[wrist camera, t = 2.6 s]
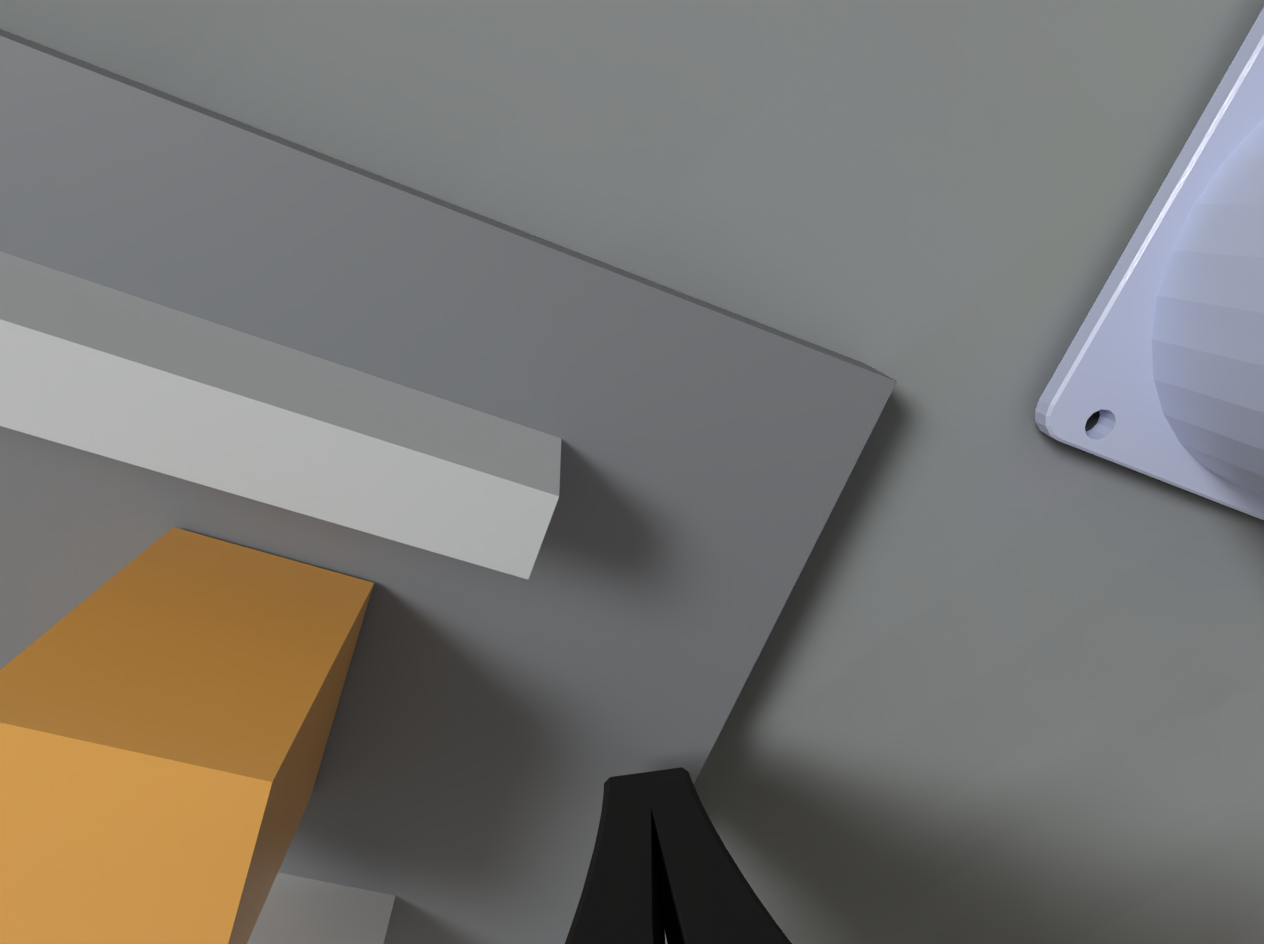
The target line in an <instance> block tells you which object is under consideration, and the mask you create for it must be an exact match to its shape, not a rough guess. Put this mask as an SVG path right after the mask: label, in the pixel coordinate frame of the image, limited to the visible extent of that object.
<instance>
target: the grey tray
mask: <svg viewBox="0 0 1264 944" xmlns="http://www.w3.org/2000/svg"><path fill="white" fill-rule="evenodd" d="M896 382H897V381H895V380H893V379H892V378H890V377H888V376H886V375H885V374H883V373H881V372H879V371H877V370H876V369H874V368H872V367H870V366H868V365H866V364H864V363H861V362H859V361H856V360H853V359H851V358H848V357H846V356H843V355H841V354H838V353H835V352H833V351H830V350H828V349H825V348H822V347H820V346H817V345H815V344H812V343H810V342H807V341H804V340H802V339H799V338H797V337H794V336H791V335H789V334H786V333H784V332H781V331H779V330H776V329H773V328H771V327H768V326H766V325H763V324H760V323H758V322H755V321H753V320H750V319H748V318H745V317H742V316H740V315H737V314H735V313H732V312H729V311H727V310H724V309H722V308H719V307H717V306H714V305H711V304H709V303H706V302H704V301H701V300H698V299H696V298H693V297H691V296H688V295H686V294H683V293H680V292H678V291H675V290H673V289H670V288H667V287H665V286H662V285H660V284H657V283H655V282H652V281H649V280H647V279H644V278H642V277H639V276H636V275H634V274H631V273H629V272H626V271H624V270H621V269H618V268H616V267H613V266H611V265H608V264H605V263H603V262H600V261H598V260H595V259H593V258H590V257H587V256H585V255H582V254H580V253H577V252H574V251H572V250H569V249H567V248H564V247H562V246H559V245H556V244H554V243H551V242H549V241H546V240H543V239H541V238H538V237H536V236H533V235H531V234H528V233H525V232H523V231H520V230H518V229H515V228H513V227H510V226H507V225H505V224H502V223H500V222H497V221H494V220H492V219H489V218H487V217H484V216H482V215H479V214H476V213H474V212H471V211H469V210H466V209H463V208H461V207H458V206H456V205H453V204H451V203H448V202H445V201H443V200H440V199H438V198H435V197H432V196H430V195H427V194H425V193H422V192H420V191H417V190H414V189H412V188H409V187H407V186H404V185H401V184H399V183H396V182H394V181H391V180H389V179H386V178H383V177H381V176H378V175H376V174H373V173H370V172H368V171H365V170H363V169H360V168H358V167H355V166H352V165H350V164H347V163H345V162H342V161H339V160H337V159H334V158H332V157H329V156H327V155H324V154H321V153H319V152H316V151H314V150H311V149H308V148H306V147H303V146H301V145H298V144H296V143H293V142H290V141H288V140H285V139H283V138H280V137H277V136H275V135H272V134H270V133H267V132H265V131H262V130H259V129H257V128H254V127H252V126H249V125H246V124H244V123H241V122H239V121H236V120H234V119H231V118H228V117H226V116H223V115H221V114H218V113H215V112H213V111H210V110H208V109H205V108H203V107H200V106H197V105H195V104H192V103H190V102H187V101H184V100H182V99H179V98H177V97H174V96H172V95H169V94H166V93H164V92H161V91H159V90H156V89H153V88H151V87H148V86H146V85H143V84H141V83H138V82H135V81H133V80H130V79H128V78H125V77H123V76H120V75H117V74H115V73H112V72H110V71H107V70H104V69H102V68H99V67H97V66H94V65H92V64H89V63H86V62H84V61H81V60H79V59H76V58H73V57H71V56H68V55H66V54H63V53H61V52H58V51H55V50H53V49H50V48H48V47H45V46H42V45H40V44H37V43H35V42H32V41H30V40H27V39H24V38H22V37H19V36H17V35H14V34H11V33H9V32H6V31H4V30H1V29H0V670H1V669H2V668H3V667H4V666H5V665H7V664H8V663H9V662H10V661H12V660H13V659H14V658H15V657H16V656H18V655H19V654H20V653H21V652H22V651H24V650H25V649H26V648H27V647H28V646H30V645H31V644H32V643H33V642H35V641H36V640H37V639H38V638H39V637H41V636H42V635H43V634H44V633H45V632H47V631H48V630H49V629H50V628H51V627H53V626H54V625H55V624H56V623H58V622H59V621H60V620H61V619H62V618H64V617H65V616H66V615H67V614H68V613H70V612H71V611H72V610H73V609H75V608H76V607H77V606H78V605H79V604H81V603H82V602H83V601H84V600H85V599H87V598H88V597H89V596H90V595H91V594H93V593H94V592H95V591H96V590H98V589H99V588H100V587H101V586H102V585H104V584H105V583H106V582H107V581H108V580H110V579H111V578H112V577H113V576H114V575H116V574H117V573H118V572H119V571H121V570H122V569H123V568H124V567H125V566H127V565H128V564H129V563H130V562H131V561H133V560H134V559H135V558H136V557H138V556H139V555H140V554H141V553H142V552H144V551H145V550H146V549H147V548H148V547H150V546H151V545H152V544H153V543H154V542H156V541H157V540H158V539H159V538H161V537H162V536H163V535H164V534H165V533H167V532H168V531H169V530H170V529H171V528H173V527H175V528H179V529H182V530H186V531H189V532H193V533H197V534H200V535H204V536H207V537H211V538H215V539H218V540H222V541H225V542H229V543H232V544H236V545H240V546H243V547H247V548H250V549H254V550H258V551H261V552H265V553H268V554H272V555H276V556H279V557H283V558H286V559H290V560H294V561H297V562H301V563H304V564H308V565H312V566H315V567H319V568H322V569H326V570H329V571H333V572H337V573H340V574H344V575H347V576H351V577H355V578H358V579H362V580H365V581H369V582H373V583H374V585H373V589H372V592H371V595H370V599H369V602H368V605H367V609H366V612H365V615H364V619H363V622H362V626H361V629H360V632H359V636H358V639H357V642H356V646H355V649H354V653H353V656H352V659H351V663H350V666H349V669H348V673H347V676H346V680H345V683H344V686H343V690H342V693H341V696H340V700H339V703H338V707H337V710H336V713H335V717H334V720H333V723H332V727H331V730H330V734H329V737H328V740H327V744H326V747H325V750H324V754H323V757H322V761H321V764H320V767H319V771H318V774H317V777H316V781H315V784H314V787H313V791H312V794H311V798H310V800H309V802H308V805H307V807H306V809H305V811H304V814H303V816H302V818H301V821H300V823H299V825H298V828H297V830H296V832H295V834H294V837H293V839H292V841H291V844H290V846H289V848H288V851H287V853H286V855H285V858H284V860H283V862H282V864H281V867H280V869H279V871H278V874H277V876H276V878H275V881H274V883H273V885H272V887H271V890H270V892H269V894H268V897H267V899H266V901H265V904H264V906H263V908H262V911H261V913H260V915H259V917H258V920H257V922H256V924H255V927H254V929H253V931H252V934H251V936H250V938H249V940H248V943H247V944H565V942H566V939H567V936H568V933H569V930H570V927H571V924H572V921H573V918H574V915H575V912H576V909H577V906H578V903H579V900H580V897H581V894H582V891H583V887H584V883H585V880H586V876H587V872H588V869H589V865H590V861H591V858H592V854H593V850H594V846H595V841H596V837H597V832H598V828H599V822H600V817H601V811H602V803H603V793H604V783H605V782H606V781H607V780H608V779H609V777H614V776H621V775H628V774H636V773H643V772H650V771H658V770H665V769H672V768H680V767H682V768H684V769H685V770H687V771H688V772H689V774H690V777H691V780H692V783H693V785H694V784H695V782H696V780H697V778H698V776H699V774H700V772H701V770H702V768H703V766H704V764H705V762H706V760H707V758H708V756H709V754H710V752H711V750H712V748H713V746H714V744H715V742H716V740H717V738H718V736H719V734H720V732H721V730H722V728H723V726H724V724H725V722H726V720H727V718H728V716H729V714H730V712H731V710H732V708H733V706H734V704H735V702H736V700H737V698H738V696H739V694H740V692H741V690H742V688H743V686H744V684H745V682H746V680H747V678H748V676H749V674H750V672H751V670H752V668H753V666H754V664H755V662H756V660H757V658H758V656H759V655H760V653H761V651H762V649H763V647H764V645H765V643H766V641H767V639H768V637H769V635H770V633H771V631H772V629H773V627H774V625H775V623H776V621H777V619H778V617H779V615H780V613H781V611H782V609H783V607H784V605H785V603H786V601H787V599H788V597H789V595H790V593H791V591H792V589H793V587H794V585H795V583H796V581H797V579H798V577H799V575H800V573H801V571H802V569H803V567H804V565H805V563H806V561H807V559H808V557H809V555H810V553H811V551H812V549H813V547H814V545H815V543H816V541H817V539H818V537H819V535H820V533H821V531H822V529H823V527H824V525H825V523H826V521H827V519H828V517H829V516H830V514H831V512H832V510H833V508H834V506H835V504H836V502H837V500H838V498H839V496H840V494H841V492H842V490H843V488H844V486H845V484H846V482H847V480H848V478H849V476H850V474H851V472H852V470H853V468H854V466H855V464H856V462H857V460H858V458H859V456H860V454H861V452H862V450H863V448H864V446H865V444H866V442H867V440H868V438H869V436H870V434H871V432H872V430H873V428H874V426H875V424H876V422H877V420H878V418H879V416H880V414H881V412H882V410H883V408H884V406H885V404H886V402H887V400H888V398H889V396H890V394H891V392H892V390H893V388H894V386H895V384H896Z"/></svg>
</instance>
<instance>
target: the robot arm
mask: <svg viewBox="0 0 1264 944" xmlns="http://www.w3.org/2000/svg"><path fill="white" fill-rule="evenodd" d="M1097 411H1099V414H1100V416H1099V419H1098V422H1097V424H1096V425H1095V426H1094V427H1093V428H1092V429H1091V430H1089V431H1085V425H1086V422H1087V419H1088V418H1089V417H1090V416H1091V415H1092V414H1093V413H1094V412H1097ZM1035 422H1036V424H1037V426H1038V428H1039V430H1040V431H1042V432H1043V433H1045V434H1046V435H1047V436H1049V437H1051V438H1053V439H1055V440H1057V441H1060V442H1062V443H1065V444H1068V445H1070V446H1073V447H1075V448H1078V449H1081V450H1083V451H1086V452H1088V453H1091V454H1093V455H1096V456H1099V457H1101V458H1104V459H1106V460H1109V461H1112V462H1114V463H1117V464H1119V465H1122V466H1125V467H1127V468H1130V469H1132V470H1135V471H1137V472H1140V473H1143V474H1145V475H1148V476H1150V477H1153V478H1156V479H1158V480H1161V481H1163V482H1166V483H1168V484H1171V485H1174V486H1176V487H1179V488H1181V489H1184V490H1187V491H1189V492H1192V493H1194V494H1197V495H1200V496H1202V497H1205V498H1207V499H1210V500H1212V501H1215V502H1218V503H1220V504H1223V505H1225V506H1228V507H1231V508H1233V509H1236V510H1238V511H1241V512H1244V513H1246V514H1249V515H1251V516H1254V517H1256V518H1259V519H1262V520H1264V7H1263V9H1262V11H1261V12H1260V14H1259V16H1258V18H1257V19H1256V21H1255V23H1254V25H1253V26H1252V28H1251V30H1250V32H1249V33H1248V35H1247V37H1246V39H1245V40H1244V42H1243V44H1242V46H1241V47H1240V49H1239V51H1238V53H1237V54H1236V56H1235V58H1234V60H1233V61H1232V63H1231V65H1230V67H1229V68H1228V70H1227V72H1226V74H1225V75H1224V77H1223V79H1222V81H1221V82H1220V84H1219V86H1218V88H1217V89H1216V91H1215V93H1214V95H1213V96H1212V98H1211V100H1210V102H1209V103H1208V105H1207V107H1206V109H1205V110H1204V112H1203V114H1202V116H1201V117H1200V119H1199V121H1198V123H1197V124H1196V126H1195V128H1194V130H1193V131H1192V133H1191V135H1190V137H1189V138H1188V140H1187V142H1186V144H1185V145H1184V147H1183V149H1182V151H1181V152H1180V154H1179V156H1178V158H1177V159H1176V161H1175V163H1174V165H1173V166H1172V168H1171V170H1170V172H1169V173H1168V175H1167V177H1166V179H1165V180H1164V182H1163V184H1162V186H1161V187H1160V189H1159V191H1158V193H1157V194H1156V196H1155V198H1154V200H1153V201H1152V203H1151V205H1150V207H1149V208H1148V210H1147V212H1146V214H1145V215H1144V217H1143V219H1142V221H1141V222H1140V224H1139V226H1138V228H1137V229H1136V231H1135V233H1134V235H1133V236H1132V238H1131V240H1130V242H1129V243H1128V245H1127V247H1126V249H1125V250H1124V252H1123V254H1122V256H1121V257H1120V259H1119V261H1118V263H1117V264H1116V266H1115V268H1114V270H1113V271H1112V273H1111V275H1110V277H1109V278H1108V280H1107V282H1106V284H1105V285H1104V287H1103V289H1102V291H1101V292H1100V294H1099V296H1098V298H1097V299H1096V301H1095V303H1094V305H1093V306H1092V308H1091V310H1090V312H1089V313H1088V315H1087V317H1086V319H1085V320H1084V322H1083V324H1082V326H1081V327H1080V329H1079V331H1078V332H1077V334H1076V336H1075V338H1074V339H1073V341H1072V343H1071V345H1070V346H1069V348H1068V350H1067V352H1066V353H1065V355H1064V357H1063V359H1062V360H1061V362H1060V364H1059V366H1058V367H1057V369H1056V371H1055V373H1054V374H1053V376H1052V378H1051V380H1050V381H1049V383H1048V385H1047V387H1046V388H1045V390H1044V392H1043V394H1042V395H1041V397H1040V399H1039V401H1038V404H1037V407H1036V409H1035ZM664 929H665V930H664ZM665 933H666V938H667V943H668V944H792V943H791V942H790V941H789V940H788V938H787V937H786V936H785V934H784V933H783V932H782V930H781V929H780V928H779V926H778V925H777V924H776V922H775V921H774V920H773V918H772V917H771V915H770V914H769V913H768V911H767V910H766V908H765V907H764V906H763V904H762V903H761V901H760V900H759V898H758V897H757V896H756V894H755V893H754V891H753V890H752V888H751V887H750V885H749V884H748V882H747V881H746V879H745V878H744V876H743V875H742V873H741V871H740V870H739V868H738V867H737V865H736V863H735V862H734V860H733V858H732V857H731V855H730V854H729V852H728V850H727V849H726V847H725V846H724V844H723V842H722V840H721V839H720V837H719V835H718V833H717V832H716V830H715V828H714V826H713V824H712V822H711V821H710V819H709V817H708V815H707V813H706V811H705V809H704V807H703V805H702V803H701V801H700V799H699V797H698V794H697V792H696V790H695V787H694V785H693V783H692V780H691V777H690V774H689V772H688V771H687V770H685V769H684V768H682V767H680V768H672V769H665V770H658V771H650V772H643V773H636V774H628V775H621V776H614V777H609V779H608V780H607V781H606V782H605V783H604V793H603V803H602V811H601V817H600V822H599V828H598V832H597V837H596V841H595V846H594V850H593V854H592V858H591V861H590V865H589V869H588V872H587V876H586V880H585V883H584V887H583V891H582V894H581V897H580V900H579V903H578V906H577V909H576V912H575V915H574V918H573V921H572V924H571V927H570V930H569V933H568V936H567V939H566V942H565V944H665Z"/></svg>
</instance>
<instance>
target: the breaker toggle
mask: <svg viewBox="0 0 1264 944" xmlns="http://www.w3.org/2000/svg"><path fill="white" fill-rule="evenodd" d="M373 585H374V583H373V582H369V581H365V580H362V579H358V578H355V577H351V576H347V575H344V574H340V573H337V572H333V571H329V570H326V569H322V568H319V567H315V566H312V565H308V564H304V563H301V562H297V561H294V560H290V559H286V558H283V557H279V556H276V555H272V554H268V553H265V552H261V551H258V550H254V549H250V548H247V547H243V546H240V545H236V544H232V543H229V542H225V541H222V540H218V539H215V538H211V537H207V536H204V535H200V534H197V533H193V532H189V531H186V530H182V529H179V528H175V527H173V528H171V529H170V530H169V531H168V532H167V533H165V534H164V535H163V536H162V537H161V538H159V539H158V540H157V541H156V542H154V543H153V544H152V545H151V546H150V547H148V548H147V549H146V550H145V551H144V552H142V553H141V554H140V555H139V556H138V557H136V558H135V559H134V560H133V561H131V562H130V563H129V564H128V565H127V566H125V567H124V568H123V569H122V570H121V571H119V572H118V573H117V574H116V575H114V576H113V577H112V578H111V579H110V580H108V581H107V582H106V583H105V584H104V585H102V586H101V587H100V588H99V589H98V590H96V591H95V592H94V593H93V594H91V595H90V596H89V597H88V598H87V599H85V600H84V601H83V602H82V603H81V604H79V605H78V606H77V607H76V608H75V609H73V610H72V611H71V612H70V613H68V614H67V615H66V616H65V617H64V618H62V619H61V620H60V621H59V622H58V623H56V624H55V625H54V626H53V627H51V628H50V629H49V630H48V631H47V632H45V633H44V634H43V635H42V636H41V637H39V638H38V639H37V640H36V641H35V642H33V643H32V644H31V645H30V646H28V647H27V648H26V649H25V650H24V651H22V652H21V653H20V654H19V655H18V656H16V657H15V658H14V659H13V660H12V661H10V662H9V663H8V664H7V665H5V666H4V667H3V668H2V669H1V670H0V944H247V943H248V940H249V938H250V936H251V934H252V931H253V929H254V927H255V924H256V922H257V920H258V917H259V915H260V913H261V911H262V908H263V906H264V904H265V901H266V899H267V897H268V894H269V892H270V890H271V887H272V885H273V883H274V881H275V878H276V876H277V874H278V871H279V869H280V867H281V864H282V862H283V860H284V858H285V855H286V853H287V851H288V848H289V846H290V844H291V841H292V839H293V837H294V834H295V832H296V830H297V828H298V825H299V823H300V821H301V818H302V816H303V814H304V811H305V809H306V807H307V805H308V802H309V800H310V798H311V794H312V791H313V787H314V784H315V781H316V777H317V774H318V771H319V767H320V764H321V761H322V757H323V754H324V750H325V747H326V744H327V740H328V737H329V734H330V730H331V727H332V723H333V720H334V717H335V713H336V710H337V707H338V703H339V700H340V696H341V693H342V690H343V686H344V683H345V680H346V676H347V673H348V669H349V666H350V663H351V659H352V656H353V653H354V649H355V646H356V642H357V639H358V636H359V632H360V629H361V626H362V622H363V619H364V615H365V612H366V609H367V605H368V602H369V599H370V595H371V592H372V589H373Z"/></svg>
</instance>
